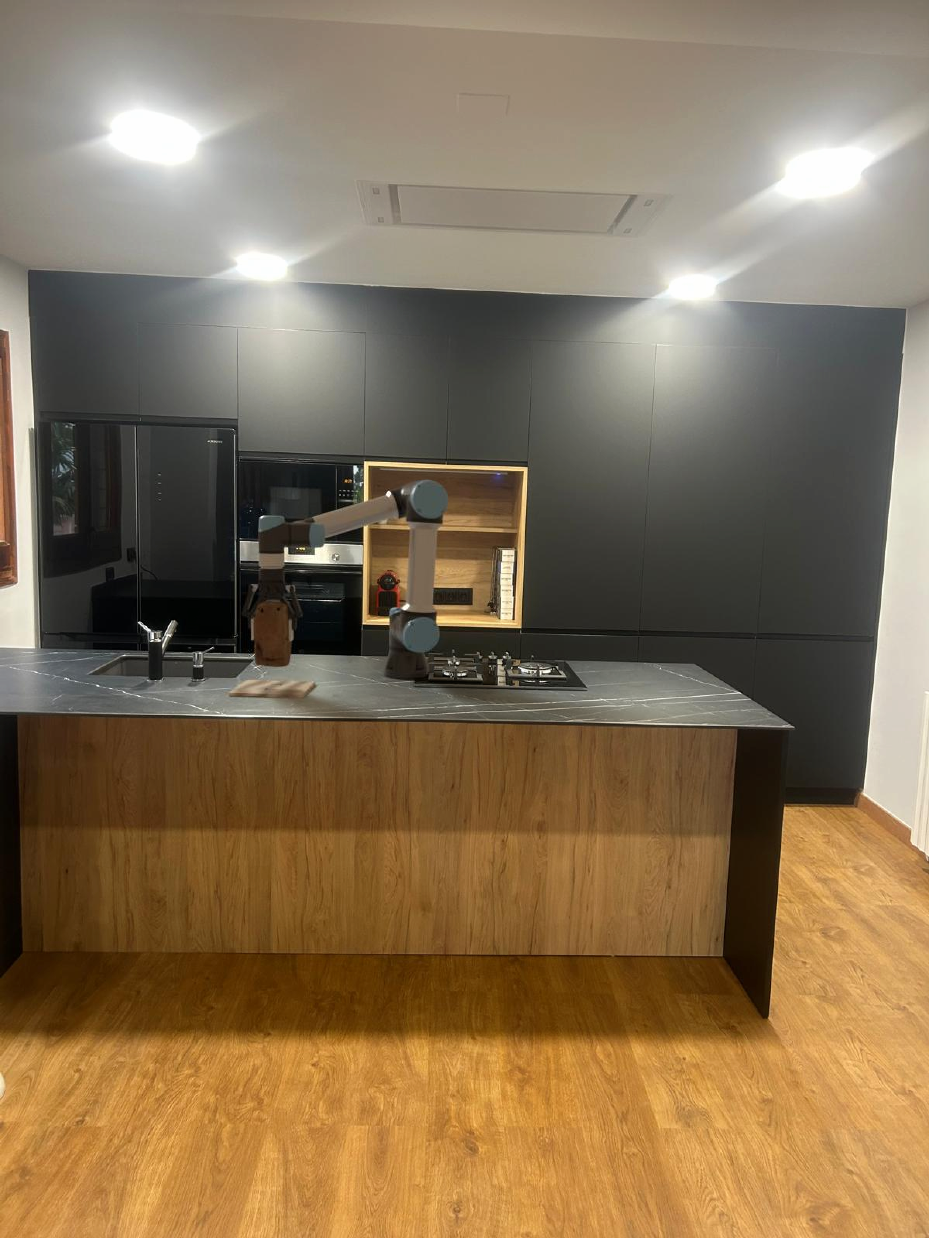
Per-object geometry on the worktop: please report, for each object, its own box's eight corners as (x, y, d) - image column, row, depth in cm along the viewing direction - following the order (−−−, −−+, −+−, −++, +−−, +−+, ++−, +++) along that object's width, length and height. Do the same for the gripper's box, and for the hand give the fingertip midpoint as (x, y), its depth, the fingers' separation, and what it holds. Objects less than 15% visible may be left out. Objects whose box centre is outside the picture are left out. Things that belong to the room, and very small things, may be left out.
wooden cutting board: (315, 684, 266) (315, 681, 266) (302, 697, 248) (302, 694, 248) (246, 682, 267) (246, 679, 267) (228, 696, 249) (228, 692, 249)
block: (293, 663, 260) (292, 599, 257) (287, 668, 253) (286, 602, 250) (258, 662, 260) (257, 598, 258) (251, 667, 253) (250, 601, 250)
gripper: (312, 567, 256) (313, 638, 259) (237, 565, 256) (238, 636, 259) (307, 569, 248) (307, 643, 251) (229, 567, 249) (230, 640, 252)
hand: (272, 639), depth 255 cm, fingers closed on block, 11 cm apart
